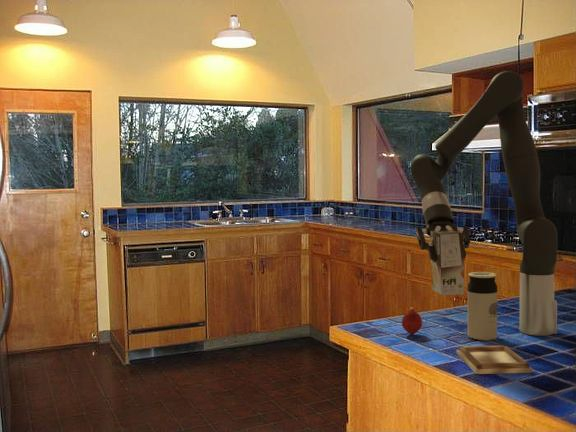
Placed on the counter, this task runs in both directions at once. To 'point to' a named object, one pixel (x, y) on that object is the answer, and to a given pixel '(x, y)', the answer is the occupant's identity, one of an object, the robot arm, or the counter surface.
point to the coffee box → (448, 262)
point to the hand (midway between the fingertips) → (448, 259)
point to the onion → (411, 321)
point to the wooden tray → (493, 360)
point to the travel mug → (482, 306)
